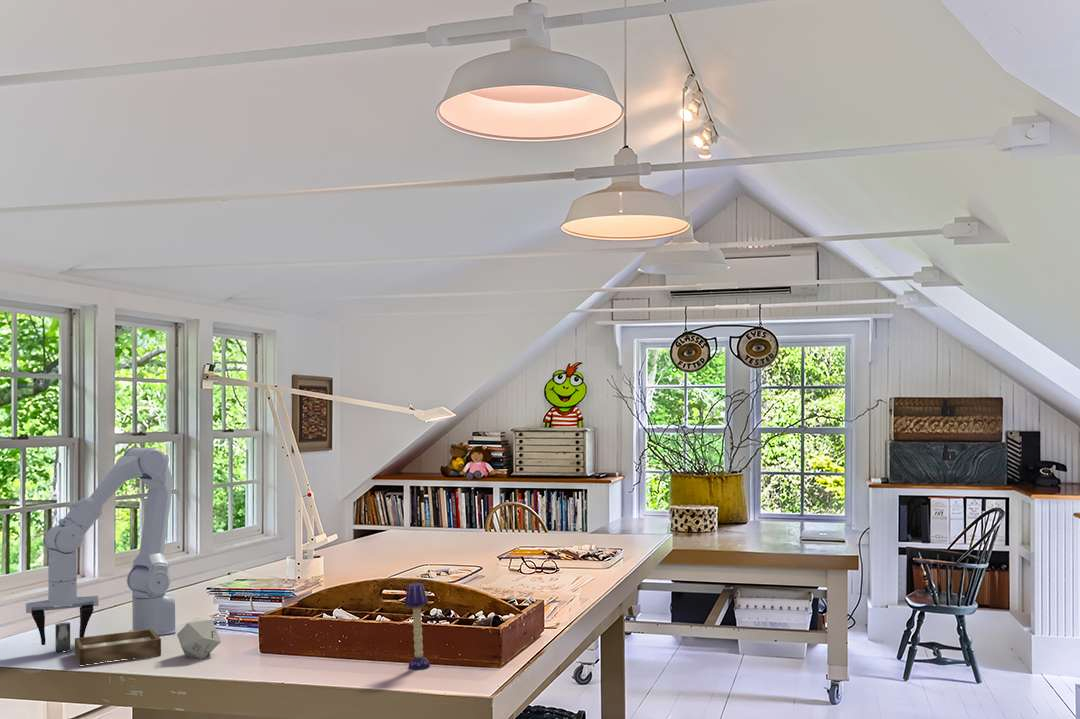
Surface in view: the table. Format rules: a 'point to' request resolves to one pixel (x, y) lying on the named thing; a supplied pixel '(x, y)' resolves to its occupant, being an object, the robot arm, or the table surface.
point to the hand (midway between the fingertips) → (62, 641)
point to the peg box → (117, 646)
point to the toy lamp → (417, 623)
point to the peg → (62, 637)
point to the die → (198, 638)
